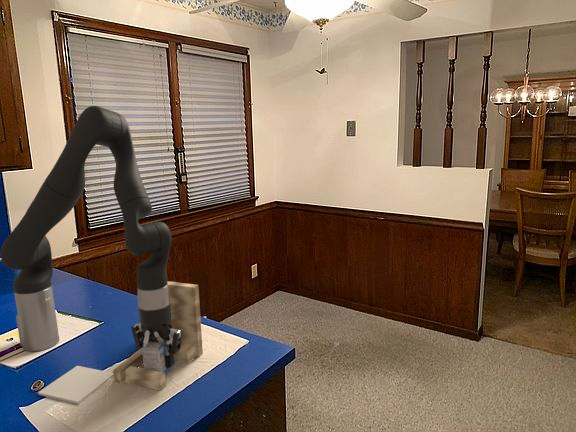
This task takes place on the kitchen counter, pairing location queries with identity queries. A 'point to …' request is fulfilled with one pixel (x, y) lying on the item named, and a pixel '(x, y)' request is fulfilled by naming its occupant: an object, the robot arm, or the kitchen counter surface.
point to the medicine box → (155, 357)
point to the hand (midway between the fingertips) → (159, 364)
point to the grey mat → (76, 384)
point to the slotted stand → (182, 317)
